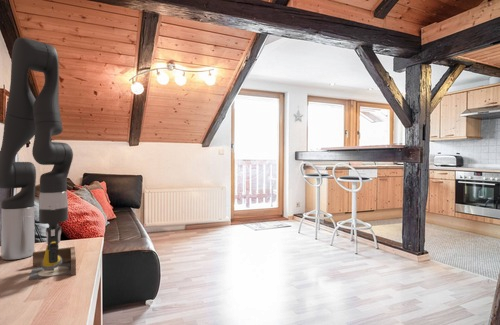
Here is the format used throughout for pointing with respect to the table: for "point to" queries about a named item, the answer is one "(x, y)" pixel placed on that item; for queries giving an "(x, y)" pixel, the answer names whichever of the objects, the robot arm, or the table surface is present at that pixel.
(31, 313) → the table surface
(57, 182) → the robot arm
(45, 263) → the drill bit
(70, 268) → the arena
